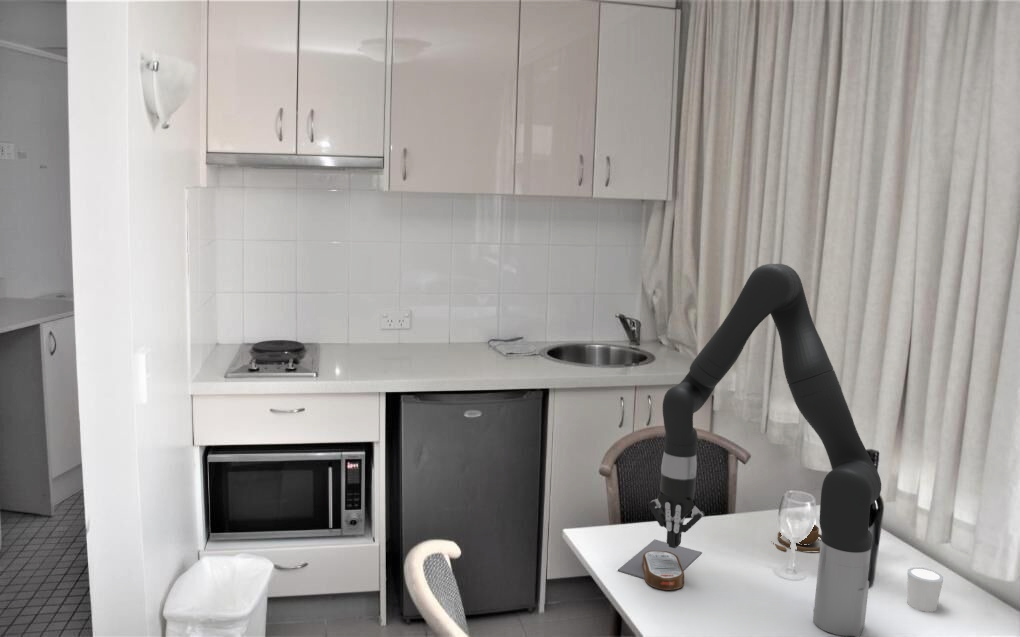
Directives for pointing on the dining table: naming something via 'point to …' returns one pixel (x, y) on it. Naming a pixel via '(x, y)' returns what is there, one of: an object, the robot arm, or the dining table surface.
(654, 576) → the tin
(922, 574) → the white cup
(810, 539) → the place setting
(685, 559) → the mat
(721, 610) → the dining table surface
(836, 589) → the robot arm
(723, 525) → the dining table surface
